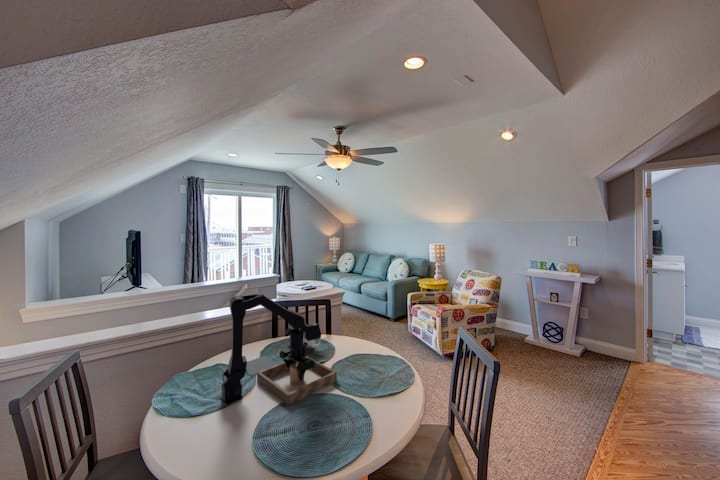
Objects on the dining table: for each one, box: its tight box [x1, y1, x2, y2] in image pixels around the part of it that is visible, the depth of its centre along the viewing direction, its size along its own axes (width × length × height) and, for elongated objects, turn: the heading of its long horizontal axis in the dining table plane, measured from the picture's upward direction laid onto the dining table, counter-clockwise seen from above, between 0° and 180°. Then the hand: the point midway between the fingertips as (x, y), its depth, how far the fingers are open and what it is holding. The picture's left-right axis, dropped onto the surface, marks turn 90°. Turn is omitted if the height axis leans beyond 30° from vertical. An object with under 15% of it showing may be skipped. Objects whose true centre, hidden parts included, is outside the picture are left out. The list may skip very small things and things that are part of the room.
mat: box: [245, 355, 279, 377], centre depth 144 cm, size 14×14×1 cm
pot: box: [289, 362, 305, 386], centre depth 130 cm, size 6×6×7 cm
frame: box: [256, 355, 338, 407], centre depth 130 cm, size 24×24×4 cm
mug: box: [303, 336, 321, 349], centre depth 161 cm, size 9×12×11 cm
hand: (297, 377), depth 130 cm, fingers closed on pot, 6 cm apart
